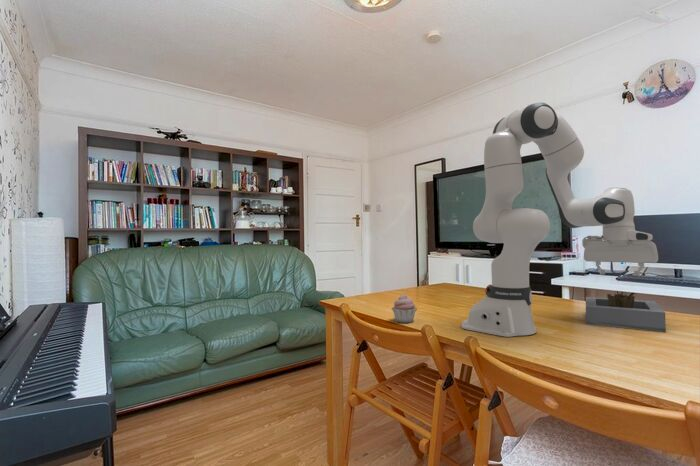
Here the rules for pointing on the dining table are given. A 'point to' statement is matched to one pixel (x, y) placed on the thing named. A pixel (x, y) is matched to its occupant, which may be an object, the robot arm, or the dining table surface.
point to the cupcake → (404, 309)
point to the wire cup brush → (621, 301)
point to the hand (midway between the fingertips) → (619, 275)
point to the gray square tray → (625, 315)
